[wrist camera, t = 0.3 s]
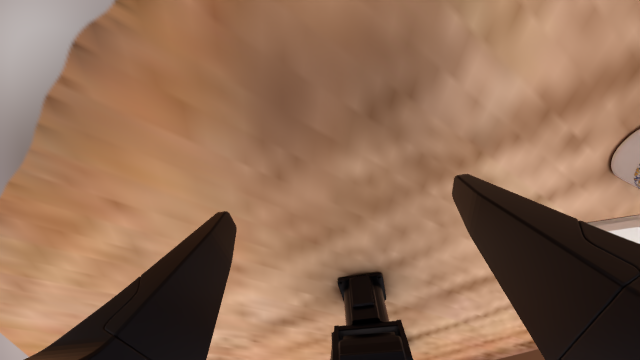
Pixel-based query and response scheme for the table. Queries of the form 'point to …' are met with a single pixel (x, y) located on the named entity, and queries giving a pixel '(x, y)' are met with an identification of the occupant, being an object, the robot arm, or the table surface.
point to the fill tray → (622, 227)
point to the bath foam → (628, 160)
